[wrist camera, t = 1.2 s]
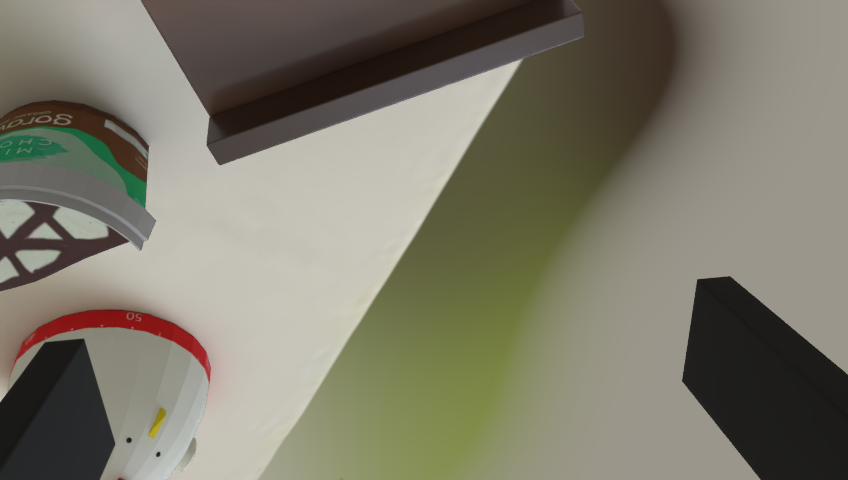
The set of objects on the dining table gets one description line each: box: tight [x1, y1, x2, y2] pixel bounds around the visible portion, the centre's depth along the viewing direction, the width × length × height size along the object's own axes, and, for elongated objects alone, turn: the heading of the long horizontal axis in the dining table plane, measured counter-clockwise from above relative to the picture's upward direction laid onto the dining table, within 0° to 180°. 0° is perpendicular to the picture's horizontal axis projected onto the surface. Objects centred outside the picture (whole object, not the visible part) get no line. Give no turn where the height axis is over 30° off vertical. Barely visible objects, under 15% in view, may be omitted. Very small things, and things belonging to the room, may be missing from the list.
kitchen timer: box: [7, 310, 211, 480], centre depth 46 cm, size 14×14×15 cm
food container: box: [0, 100, 156, 291], centre depth 34 cm, size 12×6×10 cm, turn 108°
